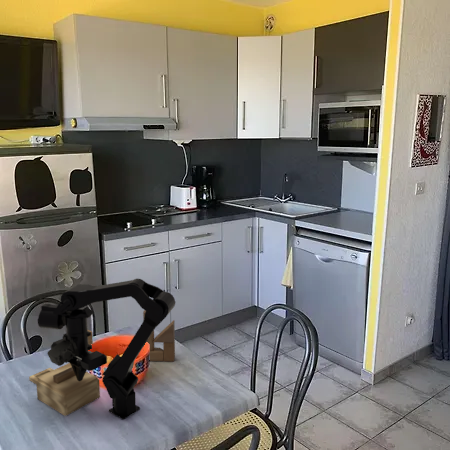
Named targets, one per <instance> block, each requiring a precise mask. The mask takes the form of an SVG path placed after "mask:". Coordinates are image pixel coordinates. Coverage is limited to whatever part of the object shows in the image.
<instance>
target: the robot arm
mask: <svg viewBox="0 0 450 450" xmlns="http://www.w3.org/2000/svg"><path fill="white" fill-rule="evenodd" d="M125 298H132V299H134V300H135V301H136V304H138V305H139V306H140V308H141V309H143V311H144V310H145V311H146V312H145V315H144V320H143V321H142V323H141V324H140V325H139V327H138V329H137V331H136V332H135V334H134V336H133V337H132V339H131V341H130V342H129V343H128V345H127V346H126V348H125V350H124V351H123V353H122V355H121V356H120V355H119V354H118V353H117V354H116V355H115V356H114V357H113V359H112V360H110V362H109V363H108V356H107V355H106V354H105V353H102V352H100V351H98V350H95V351H93V352H91V351H88V350H90V349H92V345H89V344H88V336H91V332H89V331H88V330H89V329H88V319H89V318H90V317H92V316H93V314H94V313H95V312H94V310H92V309H91V308H90V307H89V305H92V304H93V303H98V302H105V301H110V300H111V301H112V300H118V299H125ZM175 305H176V301H175V297H174V295H173V294H172V293H170V292H168V291H165V290H163V289H162V288H160V287H158V286H156V285H153V284H150V283H148V282H146V281H145V280H144V279H141V278H134V279H131V280H125V281H120V282H114V283H107V284H103V285H91V284H74V285H73V286H72V287H70V288H68V289H67V290H66V291H64V292H63V293H62V294H61V296H60V302H59V303H58V305H57V304H50V303H44V304H43V305H42V306H41V310H40V311H39V314H38V318H37V325H38V327H40V328H41V329H42V328H43V329H51V330H52V329H53V330H62V329H63V328H64V327H65V331H66V333H64V334H63V336H62V338H61V339H58V340H56V341H53V342H52V344H51V345H50V349H49V350H48V351H47V353H46V354H47V356H48V358H49V360H50V361H51V363H52V364H55V365H57V366H59V367H62V366H64V365H65V363H66V364H68V363H70V364H71V366H72V368H73V371H74V373H75V375H76V378H77V380H78V381H81V380H83V377H84V375H85V373H86V372H88V371H89V372H91V371H92V372H93V371H94V370H96V369H98V368H101V367H102V366H104V365H106V364H107V363H108V364H107V367H106V369H105V370H104V371H103V372H102V374H101V375H102V376H103V377H102V380H101V381H102V383H103V386H104V387H105V388H106V391H107V393H108V396H109V398H110V399H112V400H111V403H112V407H111V408H109V409H108V412H109V413H110V414H112V415H113V416H116V417H118V418H120V419H121V420H125V419H127V418H128V417H130V416H132V415H133V414H135V413H136V412H138V411H140V410H141V407H140V406H138V405H137V403H136V402H137V401H136V391H135V389H134V388H135V387H136V385H137V384H138V382H139V377H138V376H137V375H136V374H135V373H134V371H133V368H134V363H135V361H136V359H137V357H138V356H139V354H140V353H141V352H142V350H143V349H144V345H145V343H146V342H147V340H148V339H149V337H150V336H151V334H152V333H153V331H154V332H155V329H156V328H157V327H158V326H159V325H160V324H161V323H162V322H163V321H164V320H165V319H166V317H168V315H169V314H170V313H171V311H172V310H173V309H174V307H175Z"/></svg>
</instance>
